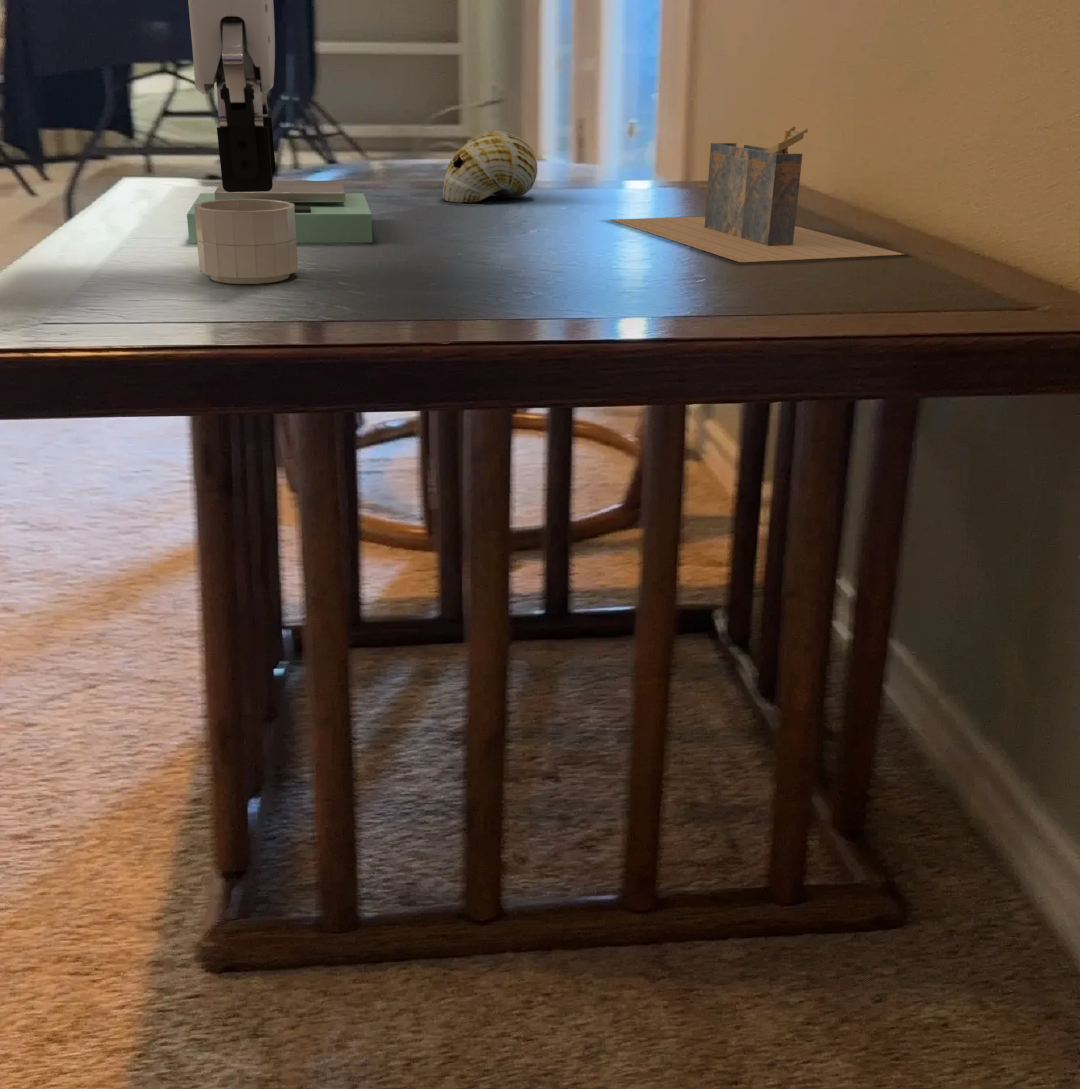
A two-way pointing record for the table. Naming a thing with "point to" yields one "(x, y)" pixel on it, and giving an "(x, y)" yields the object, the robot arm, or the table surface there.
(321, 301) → the table surface
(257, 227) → the bowl
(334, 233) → the scale
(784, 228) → the ruin model on sheet
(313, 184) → the pan
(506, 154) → the seashell
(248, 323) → the table surface
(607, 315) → the table surface
